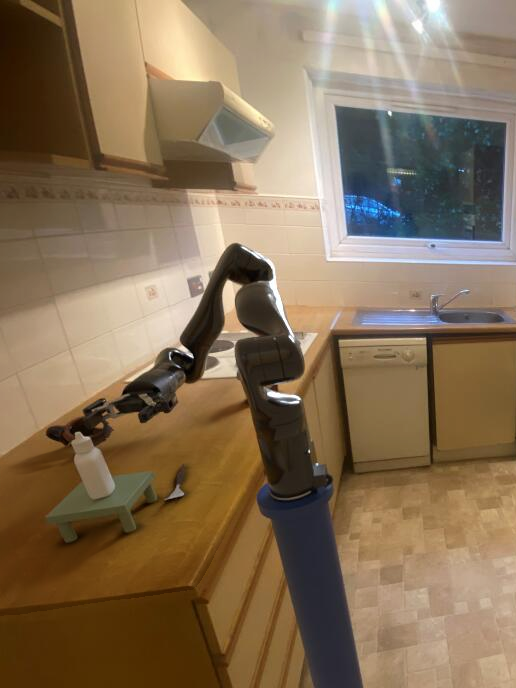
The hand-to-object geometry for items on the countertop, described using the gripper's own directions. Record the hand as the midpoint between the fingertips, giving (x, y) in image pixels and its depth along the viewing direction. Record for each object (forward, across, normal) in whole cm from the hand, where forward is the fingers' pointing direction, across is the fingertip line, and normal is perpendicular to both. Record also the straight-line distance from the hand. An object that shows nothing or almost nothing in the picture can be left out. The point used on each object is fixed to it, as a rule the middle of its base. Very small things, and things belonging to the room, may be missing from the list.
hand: (114, 421), depth 83 cm
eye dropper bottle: (+10, 0, +9) cm, 14 cm away
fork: (+1, +7, +15) cm, 17 cm away
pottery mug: (-23, -20, +15) cm, 34 cm away
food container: (-43, +13, +15) cm, 47 cm away
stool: (+10, 0, +15) cm, 18 cm away
